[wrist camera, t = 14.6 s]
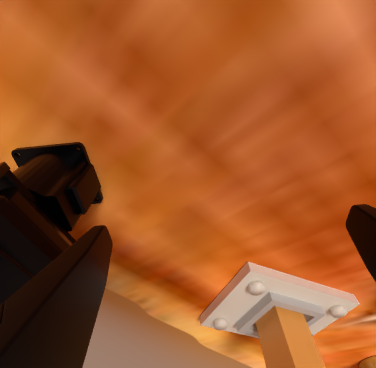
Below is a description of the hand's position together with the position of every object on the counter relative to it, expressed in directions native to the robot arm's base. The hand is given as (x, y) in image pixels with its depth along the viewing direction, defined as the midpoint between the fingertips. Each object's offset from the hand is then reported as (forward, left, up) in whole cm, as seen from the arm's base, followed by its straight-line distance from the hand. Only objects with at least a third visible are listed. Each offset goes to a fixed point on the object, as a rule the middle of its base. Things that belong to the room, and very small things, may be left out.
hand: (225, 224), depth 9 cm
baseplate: (+9, -29, -13) cm, 33 cm away
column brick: (+9, -29, -12) cm, 33 cm away
